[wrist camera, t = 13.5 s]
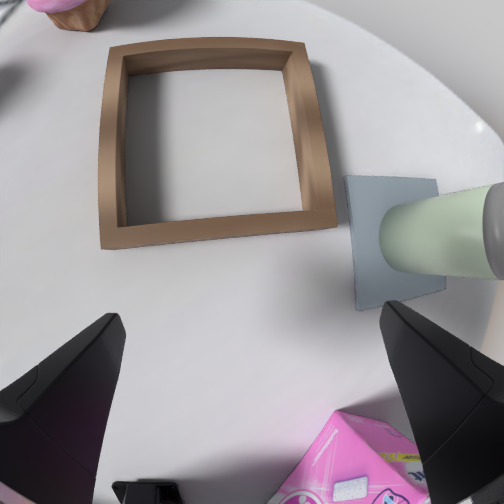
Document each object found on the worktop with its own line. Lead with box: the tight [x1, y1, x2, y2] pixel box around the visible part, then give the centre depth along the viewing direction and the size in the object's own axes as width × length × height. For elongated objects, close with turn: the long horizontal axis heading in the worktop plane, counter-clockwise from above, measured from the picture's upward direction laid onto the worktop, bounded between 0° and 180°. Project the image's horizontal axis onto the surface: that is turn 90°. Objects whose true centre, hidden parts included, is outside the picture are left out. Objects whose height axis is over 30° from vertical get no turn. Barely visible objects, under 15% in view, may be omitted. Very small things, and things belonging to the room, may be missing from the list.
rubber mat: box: [344, 175, 446, 311], centre depth 24 cm, size 11×11×1 cm
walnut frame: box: [98, 37, 337, 250], centre depth 19 cm, size 15×15×3 cm
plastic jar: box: [379, 182, 504, 280], centre depth 18 cm, size 6×6×12 cm
